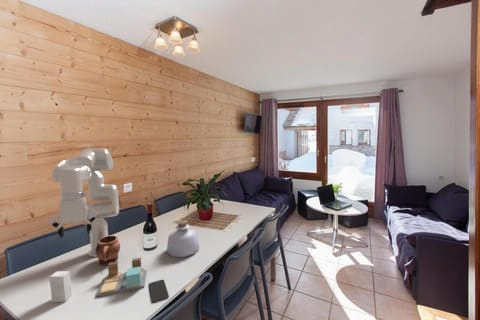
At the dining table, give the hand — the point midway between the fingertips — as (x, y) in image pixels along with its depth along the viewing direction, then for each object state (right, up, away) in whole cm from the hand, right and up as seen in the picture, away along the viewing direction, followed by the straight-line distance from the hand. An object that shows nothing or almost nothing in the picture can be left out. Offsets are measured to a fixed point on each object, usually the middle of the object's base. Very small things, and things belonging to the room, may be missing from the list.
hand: (75, 234), depth 100 cm
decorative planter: (-4, -27, +32) cm, 42 cm away
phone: (+34, -29, +7) cm, 45 cm away
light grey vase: (+36, -25, +46) cm, 63 cm away
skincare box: (-8, -30, +2) cm, 31 cm away
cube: (+21, -27, +10) cm, 35 cm away
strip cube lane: (+20, -27, +14) cm, 36 cm away
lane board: (+14, -28, +13) cm, 34 cm away
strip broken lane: (+8, -27, +15) cm, 32 cm away
